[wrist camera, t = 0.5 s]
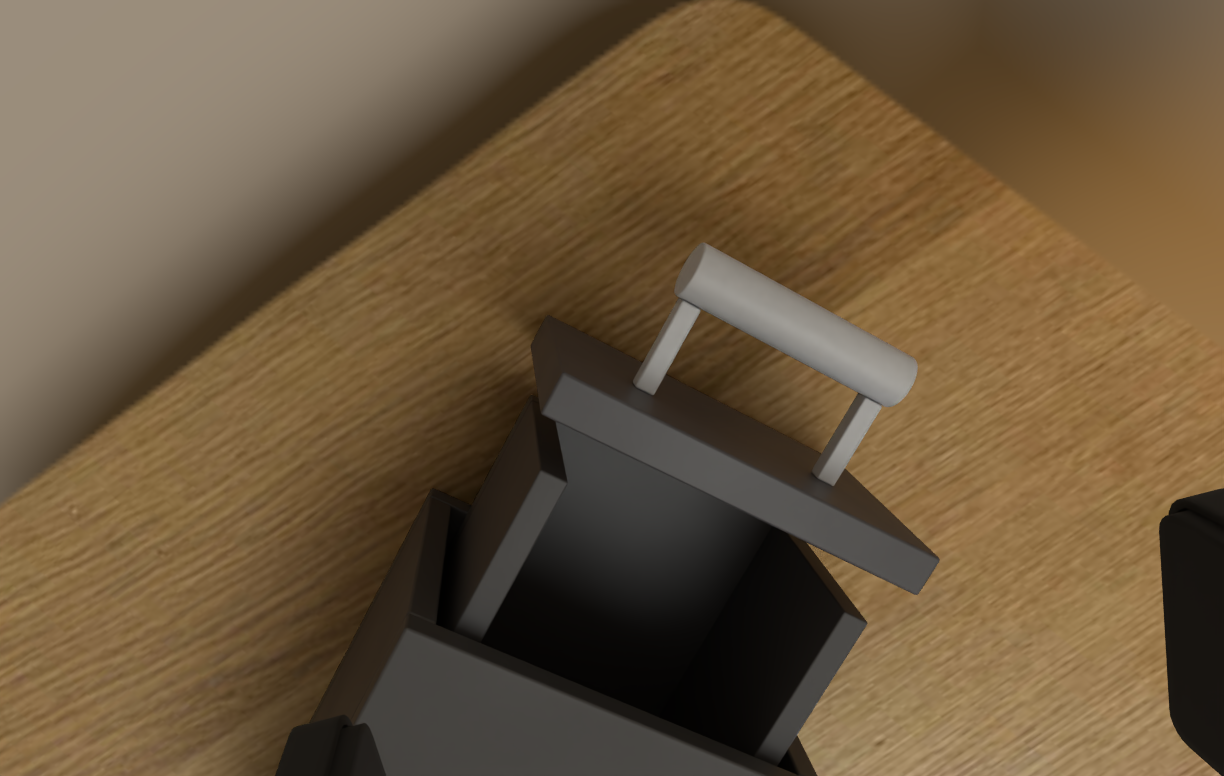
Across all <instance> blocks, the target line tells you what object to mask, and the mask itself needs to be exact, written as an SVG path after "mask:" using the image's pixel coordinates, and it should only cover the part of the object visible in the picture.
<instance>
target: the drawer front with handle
mask: <svg viewBox="0 0 1224 776" xmlns="http://www.w3.org/2000/svg"><path fill="white" fill-rule="evenodd" d="M674 292H675V295H676V296H678V297H680V298H679V299H678V300H677V302H676V304H675V305H674V307H673V309H672V311H671V313H670V314H669V316H668V318H667V320H666V322H665V324H664V325H663V327H662V329H661V331H660V333H659V334H658V336H657V338H656V340H655V342H654V343H653V345H652V347H651V349H650V351H649V353H648V354H647V356H646V358H645V360H644V362H643V363H642V362H640V361H638V360H636V359H634V358H632V357H630V356H628V355H626V354H624V353H622V352H620V351H618V350H616V349H615V348H613V347H611V346H609V345H607V344H605V343H603V342H601V341H599V340H597V339H595V338H593V337H591V336H589V335H587V334H585V333H583V332H581V331H579V330H577V329H575V328H573V327H571V326H569V325H567V324H565V323H563V322H561V321H560V320H558V319H556V318H554V317H552V316H550V315H547V316H546V317H545V319H544V321H543V323H542V325H541V327H540V329H539V330H538V332H537V334H536V336H535V338H534V340H533V342H532V344H531V352H532V358H533V365H534V371H535V378H536V384H537V391H538V397H539V398H538V397H536V396H534V395H530V397H529V398H528V400H527V402H526V404H525V406H524V408H523V410H522V412H521V414H520V415H519V417H518V419H517V421H516V423H515V425H514V427H513V429H512V430H511V432H510V434H509V436H508V438H507V440H506V442H505V444H504V445H503V447H502V449H501V451H500V453H499V455H498V457H497V459H496V461H495V462H494V464H493V466H492V468H491V470H490V472H489V474H488V476H487V477H486V479H485V481H484V483H483V485H482V487H481V489H480V491H479V492H478V494H477V496H476V498H475V500H474V502H473V504H472V506H471V508H470V509H469V511H468V513H467V515H466V517H465V519H464V521H463V523H462V524H461V526H460V528H459V530H458V532H457V534H456V536H455V538H454V539H453V541H452V543H451V545H450V547H449V549H448V551H447V553H446V555H445V559H444V567H443V575H442V582H441V590H440V598H439V606H438V613H437V621H436V625H438V626H440V627H443V628H445V629H448V630H450V631H452V632H455V633H457V634H460V635H462V636H464V637H467V638H469V639H472V640H474V641H476V642H479V643H481V644H484V645H486V646H488V647H491V648H493V649H496V650H498V651H500V652H503V653H505V654H508V655H510V656H512V657H515V658H517V659H520V660H522V661H525V662H527V663H529V664H532V665H534V666H537V667H539V668H541V669H544V670H546V671H549V672H551V673H553V674H556V675H558V676H561V677H563V678H565V679H568V680H570V681H573V682H575V683H577V684H580V685H582V686H585V687H587V688H589V689H592V690H594V691H597V692H599V693H601V694H604V695H606V696H609V697H611V698H613V699H616V700H618V701H621V702H623V703H625V704H628V705H630V706H633V707H635V708H637V709H640V710H642V711H645V712H647V713H649V714H652V715H654V716H657V717H659V718H661V719H664V720H666V721H669V722H671V723H674V724H676V725H678V726H681V727H683V728H686V729H688V730H690V731H693V732H695V733H698V734H700V735H702V736H705V737H707V738H710V739H712V740H714V741H717V742H719V743H722V744H724V745H726V746H729V747H731V748H734V749H736V750H738V751H741V752H743V753H746V754H748V755H750V756H753V757H755V758H758V759H760V760H762V761H765V762H767V763H770V764H772V765H774V766H778V764H779V763H780V761H781V759H782V758H783V756H784V755H785V753H786V752H787V750H788V748H789V747H790V745H791V744H792V742H793V740H794V739H795V737H796V736H797V734H798V733H799V731H800V729H801V728H802V726H803V725H804V723H805V721H806V720H807V718H808V717H809V715H810V714H811V712H812V710H813V709H814V707H815V706H816V704H817V703H818V701H819V699H820V698H821V696H822V695H823V693H824V691H825V690H826V688H827V687H828V685H829V684H830V682H831V680H832V679H833V677H834V676H835V674H836V673H837V671H838V669H839V668H840V666H841V665H842V663H843V661H844V660H845V658H846V657H847V655H848V654H849V652H850V650H851V649H852V647H853V646H854V644H855V643H856V641H857V639H858V638H859V636H860V635H861V633H862V631H863V630H864V628H865V627H866V625H867V622H866V620H865V619H864V618H863V616H862V615H861V614H860V612H859V611H858V610H857V608H856V607H855V606H854V604H853V603H852V602H851V601H850V599H849V598H848V597H847V595H846V594H845V593H844V591H843V590H842V589H841V587H840V586H839V585H838V583H837V582H836V581H835V580H834V578H833V577H832V576H831V574H830V573H829V572H828V570H827V569H826V568H825V566H824V565H823V564H822V562H821V561H820V560H819V559H818V557H817V556H816V555H815V553H814V552H813V551H812V549H811V548H810V547H809V545H808V544H807V543H809V544H811V545H813V546H815V547H817V548H819V549H821V550H823V551H825V552H828V553H830V554H832V555H834V556H836V557H838V558H840V559H842V560H844V561H846V562H848V563H850V564H852V565H854V566H857V567H859V568H861V569H863V570H865V571H867V572H869V573H871V574H873V575H875V576H877V577H879V578H881V579H884V580H886V581H888V582H890V583H892V584H894V585H896V586H898V587H900V588H902V589H904V590H906V591H908V592H910V593H913V594H915V595H918V594H919V592H920V591H921V589H922V588H923V586H924V584H925V583H926V581H927V580H928V578H929V577H930V575H931V574H932V572H933V570H934V569H935V567H936V566H937V564H938V563H939V560H940V559H939V558H938V557H937V556H936V555H935V554H934V553H933V552H932V551H931V550H930V549H929V548H928V547H927V546H926V545H925V544H924V543H923V542H922V541H921V540H920V539H919V538H917V537H916V536H915V535H914V534H913V533H912V532H911V531H910V530H909V529H908V528H907V527H906V526H905V525H904V524H903V523H902V522H901V521H900V520H899V519H897V518H896V517H895V516H894V515H893V514H892V513H891V512H890V511H889V510H888V509H887V508H886V507H885V506H884V505H883V504H882V503H881V502H880V501H879V500H878V499H876V498H875V497H874V496H873V495H872V494H871V493H870V492H869V491H868V490H867V489H866V488H865V487H864V486H863V485H862V484H861V483H860V482H859V481H858V480H857V479H855V478H854V477H853V476H852V475H851V474H850V473H849V472H848V471H847V470H846V469H845V467H846V465H847V464H848V462H849V460H850V459H851V457H852V455H853V454H854V452H855V450H856V449H857V447H858V445H859V444H860V442H861V440H862V439H863V437H864V436H865V434H866V432H867V431H868V429H869V427H870V426H871V424H872V422H873V421H874V419H875V417H876V416H877V414H878V412H879V411H880V409H881V407H882V406H881V405H883V406H885V407H891V406H894V405H896V404H897V403H899V402H900V401H901V400H902V399H903V398H904V397H905V396H906V395H907V393H908V392H909V390H910V389H911V387H912V385H913V383H914V381H915V378H916V375H917V362H916V360H915V359H914V358H913V357H912V356H910V355H908V354H906V353H904V352H902V351H901V350H899V349H897V348H895V347H893V346H892V345H890V344H888V343H886V342H884V341H883V340H881V339H879V338H877V337H875V336H873V335H872V334H870V333H868V332H866V331H864V330H863V329H861V328H859V327H857V326H855V325H853V324H852V323H850V322H848V321H846V320H844V319H843V318H841V317H839V316H837V315H835V314H834V313H832V312H830V311H828V310H826V309H824V308H823V307H821V306H819V305H817V304H815V303H814V302H812V301H810V300H808V299H806V298H804V297H803V296H801V295H799V294H797V293H795V292H794V291H792V290H790V289H788V288H786V287H784V286H783V285H781V284H779V283H777V282H775V281H774V280H772V279H770V278H768V277H766V276H765V275H763V274H761V273H759V272H757V271H755V270H754V269H752V268H750V267H748V266H746V265H745V264H743V263H741V262H739V261H737V260H735V259H734V258H732V257H730V256H728V255H726V254H725V253H723V252H721V251H719V250H717V249H715V248H714V247H712V246H710V245H708V244H706V243H701V244H699V245H698V246H697V247H696V248H695V249H694V250H693V252H692V253H691V254H690V256H689V257H688V259H687V260H686V262H685V264H684V265H683V267H682V269H681V271H680V274H679V276H678V278H677V281H676V285H675V290H674ZM699 308H700V309H702V310H704V311H706V312H708V313H710V314H712V315H713V316H715V317H717V318H719V319H721V320H723V321H725V322H727V323H728V324H730V325H732V326H734V327H736V328H738V329H740V330H742V331H744V332H745V333H747V334H749V335H751V336H753V337H755V338H757V339H759V340H760V341H762V342H764V343H766V344H768V345H770V346H772V347H774V348H775V349H777V350H779V351H781V352H783V353H785V354H787V355H789V356H790V357H792V358H794V359H796V360H798V361H800V362H802V363H804V364H806V365H807V366H809V367H811V368H813V369H815V370H817V371H819V372H821V373H822V374H824V375H826V376H828V377H830V378H832V379H834V380H836V381H837V382H839V383H841V384H843V385H845V386H847V387H849V388H851V389H852V390H854V391H856V392H858V394H857V396H856V398H855V399H854V401H853V403H852V404H851V406H850V408H849V409H848V411H847V413H846V414H845V416H844V418H843V419H842V421H841V423H840V424H839V426H838V428H837V429H836V431H835V433H834V434H833V436H832V438H831V439H830V441H829V442H828V444H827V446H826V447H825V449H824V451H823V452H822V454H821V453H819V452H817V451H815V450H813V449H811V448H809V447H807V446H805V445H803V444H801V443H799V442H797V441H795V440H793V439H791V438H789V437H787V436H785V435H783V434H781V433H779V432H777V431H775V430H774V429H772V428H770V427H768V426H766V425H764V424H762V423H760V422H758V421H756V420H754V419H752V418H750V417H748V416H746V415H744V414H742V413H740V412H738V411H736V410H734V409H732V408H730V407H728V406H726V405H724V404H722V403H721V402H719V401H717V400H715V399H713V398H711V397H709V396H707V395H705V394H703V393H701V392H699V391H697V390H695V389H693V388H691V387H689V386H687V385H685V384H683V383H681V382H679V381H677V380H675V379H673V378H671V377H669V376H668V375H666V372H667V371H668V369H669V367H670V365H671V363H672V362H673V360H674V358H675V356H676V354H677V353H678V351H679V349H680V347H681V345H682V344H683V342H684V340H685V338H686V337H687V335H688V333H689V331H690V329H691V328H692V326H693V324H694V322H695V320H696V319H697V317H698V315H699V313H700V309H699ZM878 403H879V404H878ZM880 404H881V405H880ZM806 542H807V543H806Z"/></svg>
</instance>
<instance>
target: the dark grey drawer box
mask: <svg viewBox="0 0 1224 776" xmlns="http://www.w3.org/2000/svg"><path fill="white" fill-rule="evenodd" d="M470 508H471V505H469V504H467V503H465V502H462V501H460V500H458V499H456V498H454V497H451V496H449V495H447V494H445V493H442V492H440V491H438V490H436V489H433V488H432V489H431V490H430V492H429V494H428V496H427V498H426V500H425V502H424V504H423V506H422V508H421V510H420V512H419V513H418V515H417V517H416V519H415V521H414V523H413V525H412V527H411V529H410V531H409V533H408V535H407V536H406V538H405V540H404V542H403V544H402V546H401V548H400V550H399V552H398V554H397V556H396V558H395V560H394V561H393V563H392V565H391V567H390V569H389V571H388V573H387V575H386V577H385V579H384V581H383V583H382V584H381V586H380V588H379V590H378V592H377V594H376V596H375V598H374V600H373V602H372V604H371V606H370V607H369V609H368V611H367V613H366V615H365V617H364V619H363V621H362V623H361V625H360V627H359V629H358V630H357V632H356V634H355V636H354V638H353V640H352V642H351V644H350V646H349V648H348V650H347V652H346V653H345V655H344V657H343V659H342V661H341V663H340V665H339V667H338V669H337V671H336V673H335V675H334V677H333V678H332V680H331V682H330V684H329V686H328V688H327V690H326V692H325V694H324V696H323V698H322V700H321V701H320V703H319V705H318V707H317V709H316V711H315V713H314V715H313V717H312V719H311V721H310V723H312V722H316V721H320V720H324V719H328V718H331V717H335V716H339V715H343V714H344V715H346V716H348V718H349V719H350V721H351V722H352V724H353V726H354V725H358V724H361V723H366V724H367V725H368V726H369V728H370V730H371V732H372V735H373V737H374V740H375V743H376V746H377V749H378V752H379V755H380V758H381V761H382V764H383V767H384V770H385V773H386V776H817V774H816V772H815V770H814V768H813V766H812V764H811V762H810V760H809V758H808V756H807V754H806V752H805V750H804V748H803V746H802V744H801V742H800V740H799V738H798V736H796V737H795V739H794V740H793V742H792V744H791V745H790V747H789V748H788V750H787V752H786V753H785V755H784V756H783V758H782V759H781V761H780V763H779V764H778V766H774V765H772V764H770V763H767V762H765V761H762V760H760V759H758V758H755V757H753V756H750V755H748V754H746V753H743V752H741V751H738V750H736V749H734V748H731V747H729V746H726V745H724V744H722V743H719V742H717V741H714V740H712V739H710V738H707V737H705V736H702V735H700V734H698V733H695V732H693V731H690V730H688V729H686V728H683V727H681V726H678V725H676V724H674V723H671V722H669V721H666V720H664V719H661V718H659V717H657V716H654V715H652V714H649V713H647V712H645V711H642V710H640V709H637V708H635V707H633V706H630V705H628V704H625V703H623V702H621V701H618V700H616V699H613V698H611V697H609V696H606V695H604V694H601V693H599V692H597V691H594V690H592V689H589V688H587V687H585V686H582V685H580V684H577V683H575V682H573V681H570V680H568V679H565V678H563V677H561V676H558V675H556V674H553V673H551V672H549V671H546V670H544V669H541V668H539V667H537V666H534V665H532V664H529V663H527V662H525V661H522V660H520V659H517V658H515V657H512V656H510V655H508V654H505V653H503V652H500V651H498V650H496V649H493V648H491V647H488V646H486V645H484V644H481V643H479V642H476V641H474V640H472V639H469V638H467V637H464V636H462V635H460V634H457V633H455V632H452V631H450V630H448V629H445V628H443V627H440V626H438V625H436V621H437V613H438V606H439V598H440V590H441V582H442V575H443V567H444V559H445V555H446V553H447V551H448V549H449V547H450V545H451V543H452V541H453V539H454V538H455V536H456V534H457V532H458V530H459V528H460V526H461V524H462V523H463V521H464V519H465V517H466V515H467V513H468V511H469V509H470Z"/></svg>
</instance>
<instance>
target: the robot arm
mask: <svg viewBox="0 0 1224 776" xmlns="http://www.w3.org/2000/svg"><path fill="white" fill-rule="evenodd" d="M1159 536H1160V554H1161V571H1162V589H1163V606H1164V623H1165V641H1166V658H1167V676H1168V693H1169V710H1170V716H1171V719H1172V722H1173V725H1174V727H1175V729H1176V731H1177V733H1178V734H1179V736H1180V737H1181V739H1182V740H1183V741H1184V742H1185V743H1186V744H1187V745H1188V746H1189V747H1190V748H1191V749H1192V750H1193V751H1194V752H1195V753H1196V754H1198V755H1199V756H1200V757H1201V758H1202V759H1203V760H1204V761H1205V762H1207V763H1208V764H1209V765H1210V766H1211V767H1212V768H1213V769H1215V770H1216V771H1217V772H1218V773H1219V774H1220V775H1221V776H1224V488H1223V489H1218V490H1214V491H1210V492H1206V493H1202V494H1198V495H1194V496H1190V497H1186V498H1183V499H1179V500H1176V501H1175V502H1174V503H1173V504H1172V505H1171V508H1170V510H1169V515H1167V516H1165V517H1164V518H1163V519H1162V520H1161V522H1160V527H1159ZM275 776H386V773H385V770H384V767H383V764H382V761H381V758H380V755H379V752H378V749H377V746H376V743H375V740H374V737H373V735H372V732H371V730H370V728H369V726H368V725H367V724H366V723H361V724H358V725H354V726H353V724H352V722H351V721H350V719H349V718H348V716H346V715H344V714H343V715H339V716H335V717H331V718H328V719H324V720H320V721H316V722H312V723H308V724H304V725H300V726H297V727H295V728H293V729H292V731H291V733H290V735H289V737H288V740H287V743H286V746H285V749H284V752H283V755H282V758H281V760H280V763H279V766H278V769H277V772H276V775H275Z"/></svg>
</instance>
